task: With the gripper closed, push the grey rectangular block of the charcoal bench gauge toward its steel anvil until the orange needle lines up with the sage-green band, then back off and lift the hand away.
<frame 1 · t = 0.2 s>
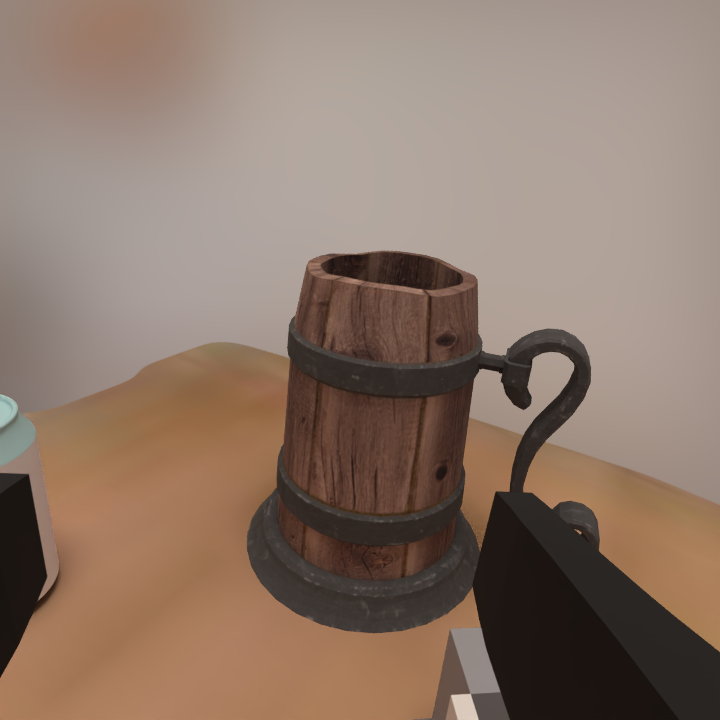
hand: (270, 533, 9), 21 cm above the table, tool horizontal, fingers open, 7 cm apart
tankard: (407, 549, 39), on the table
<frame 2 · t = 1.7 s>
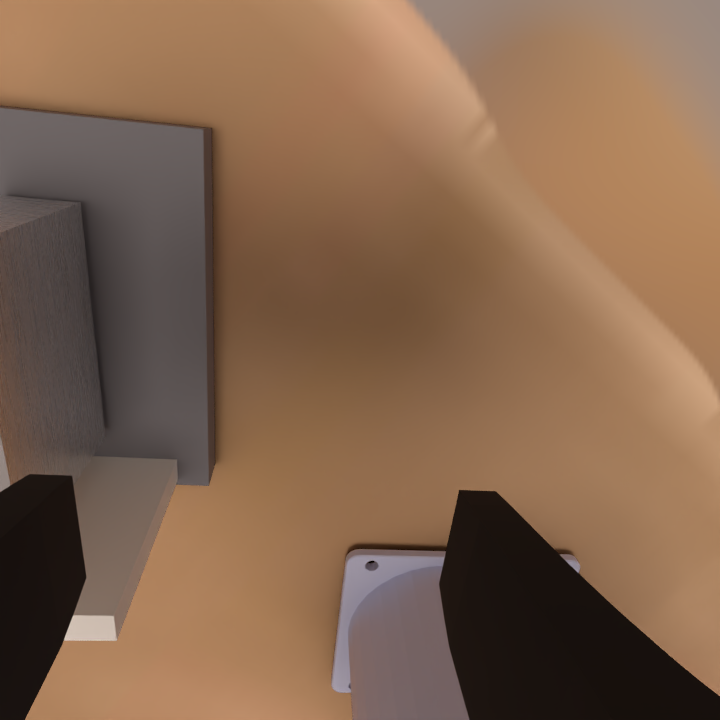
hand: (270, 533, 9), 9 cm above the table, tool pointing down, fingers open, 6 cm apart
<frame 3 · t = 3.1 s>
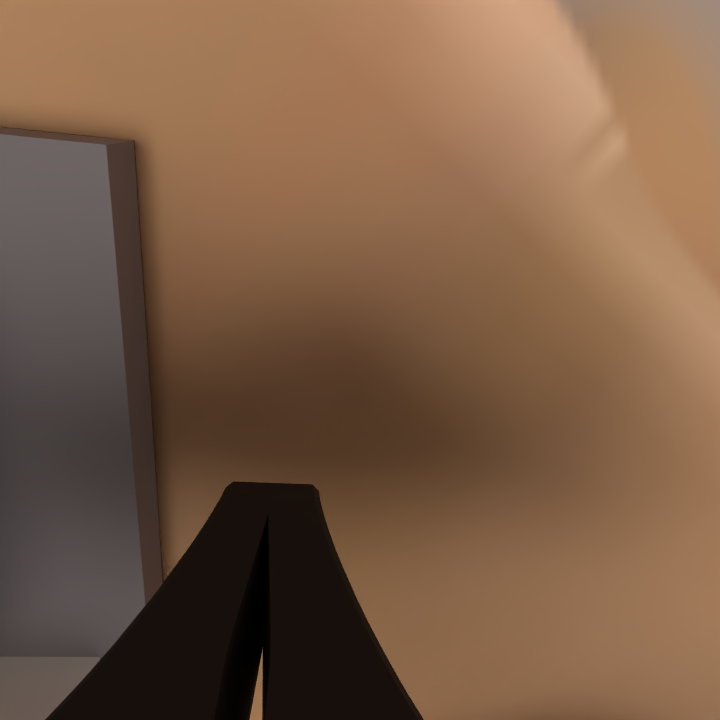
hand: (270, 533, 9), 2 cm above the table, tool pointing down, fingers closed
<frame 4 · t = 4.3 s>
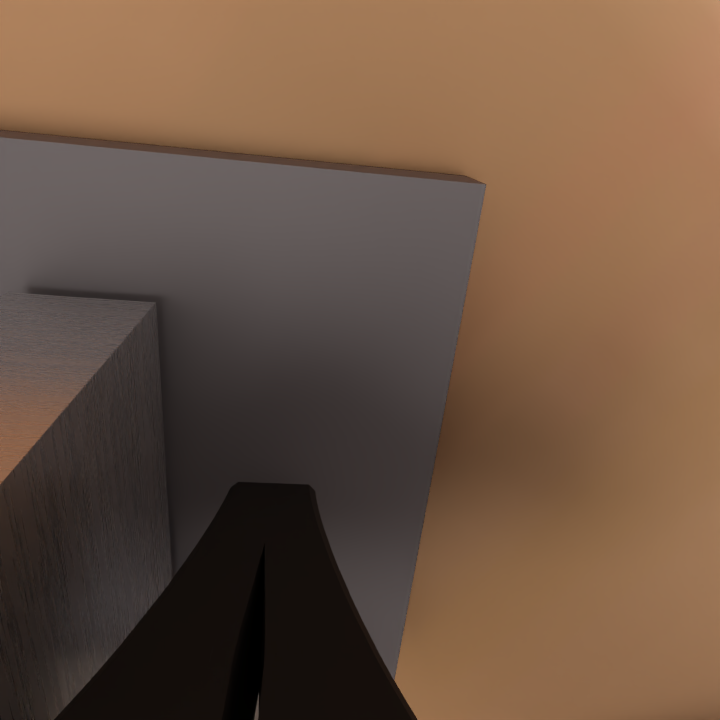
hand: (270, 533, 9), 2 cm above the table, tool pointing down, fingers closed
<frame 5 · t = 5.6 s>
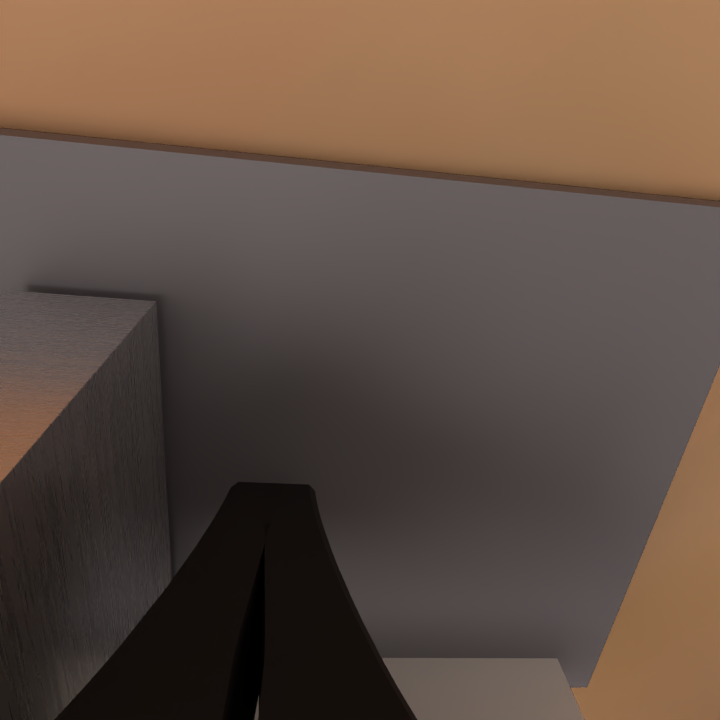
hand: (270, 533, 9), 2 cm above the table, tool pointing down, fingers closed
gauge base: (150, 443, 11), on the table
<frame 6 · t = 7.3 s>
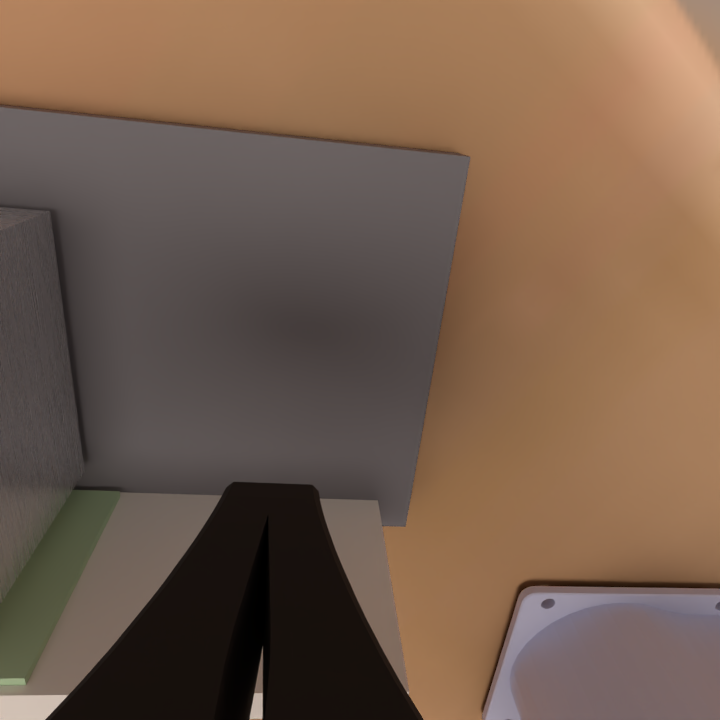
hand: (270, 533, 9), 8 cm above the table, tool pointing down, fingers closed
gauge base: (66, 329, 15), on the table
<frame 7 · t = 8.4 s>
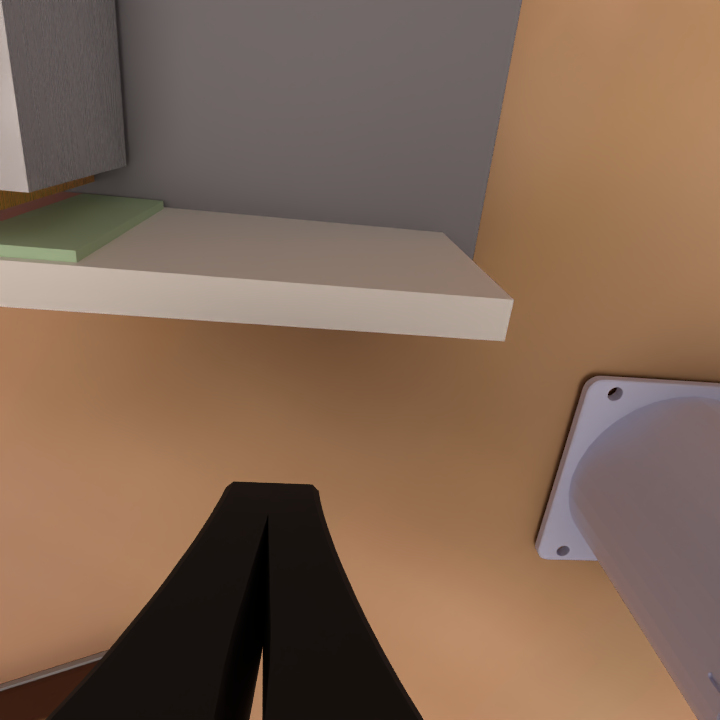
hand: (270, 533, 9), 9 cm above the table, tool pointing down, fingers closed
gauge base: (107, 7, 13), on the table
food container: (93, 705, 24), on the table
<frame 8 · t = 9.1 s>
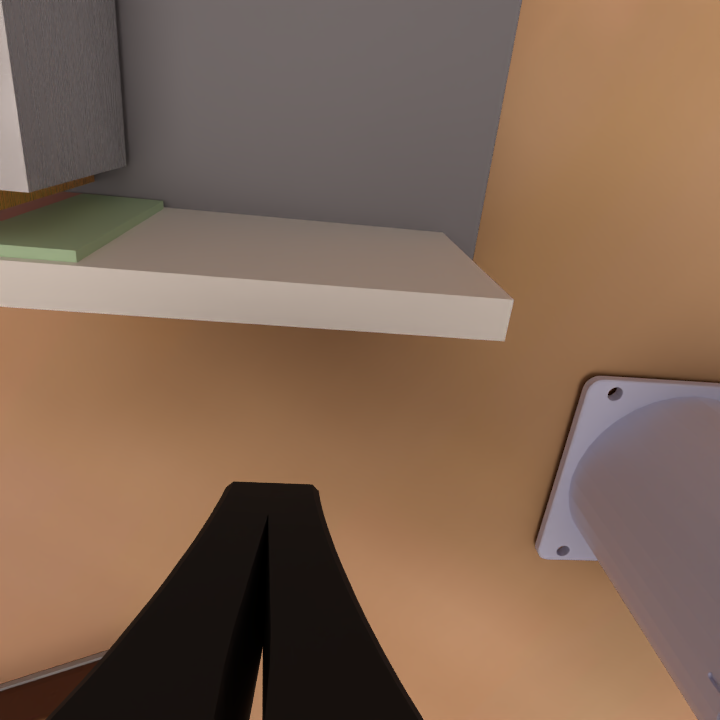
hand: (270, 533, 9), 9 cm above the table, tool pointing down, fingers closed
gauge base: (107, 7, 13), on the table
food container: (93, 705, 24), on the table
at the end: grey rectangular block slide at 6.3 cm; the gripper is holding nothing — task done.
